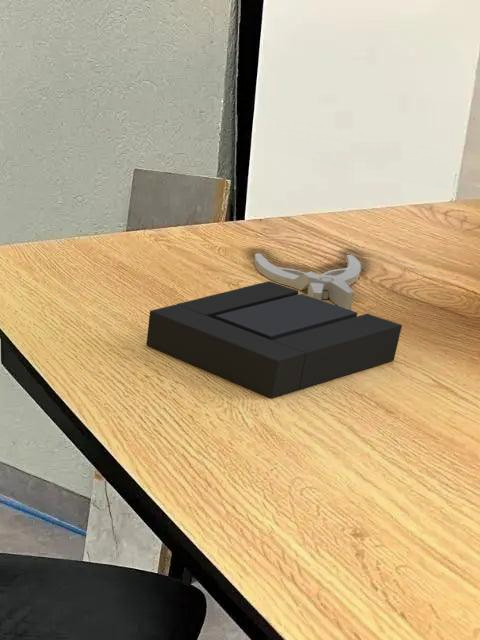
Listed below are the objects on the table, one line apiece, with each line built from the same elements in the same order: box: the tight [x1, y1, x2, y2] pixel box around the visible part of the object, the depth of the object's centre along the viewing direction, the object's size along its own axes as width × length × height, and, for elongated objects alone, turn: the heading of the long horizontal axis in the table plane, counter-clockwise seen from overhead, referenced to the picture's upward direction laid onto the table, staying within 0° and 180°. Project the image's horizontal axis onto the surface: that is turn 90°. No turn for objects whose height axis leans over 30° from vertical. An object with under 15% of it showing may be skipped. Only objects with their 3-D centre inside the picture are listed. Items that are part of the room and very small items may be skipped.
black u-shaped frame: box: [146, 280, 403, 399], centre depth 94 cm, size 14×14×3 cm
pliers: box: [254, 253, 362, 311], centre depth 109 cm, size 10×2×15 cm
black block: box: [215, 293, 358, 340], centre depth 95 cm, size 10×6×3 cm, turn 121°
